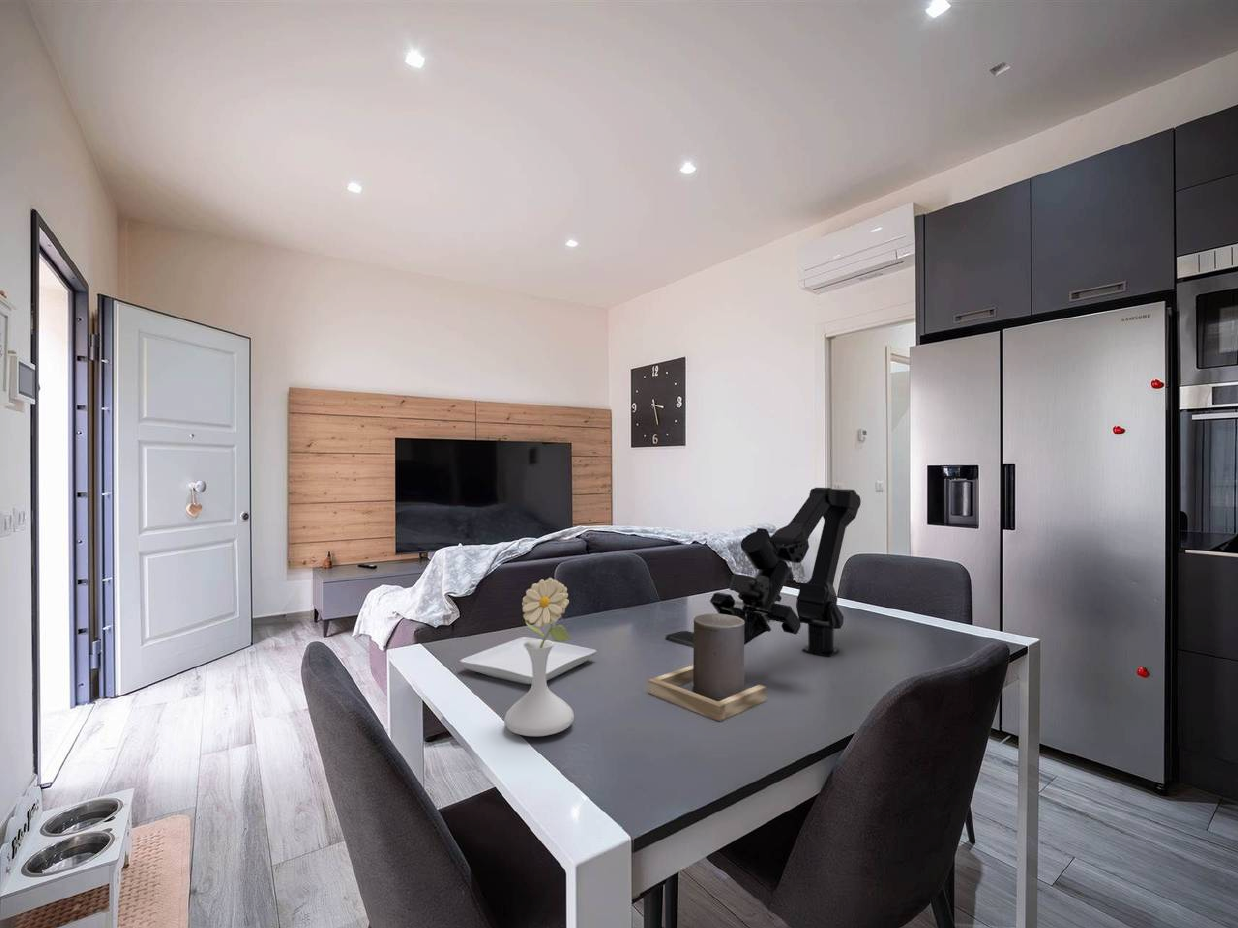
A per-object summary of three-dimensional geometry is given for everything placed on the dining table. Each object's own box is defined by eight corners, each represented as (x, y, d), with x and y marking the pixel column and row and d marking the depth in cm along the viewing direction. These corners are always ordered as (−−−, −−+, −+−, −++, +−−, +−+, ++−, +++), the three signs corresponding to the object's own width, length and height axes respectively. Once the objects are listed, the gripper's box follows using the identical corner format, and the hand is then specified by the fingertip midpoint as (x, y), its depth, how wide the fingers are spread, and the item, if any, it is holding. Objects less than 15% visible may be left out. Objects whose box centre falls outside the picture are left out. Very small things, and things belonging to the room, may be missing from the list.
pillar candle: (682, 690, 114) (682, 612, 114) (714, 678, 121) (715, 604, 120) (723, 706, 107) (723, 622, 107) (755, 692, 113) (755, 613, 113)
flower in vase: (490, 727, 98) (490, 575, 98) (545, 708, 106) (545, 567, 106) (538, 755, 89) (538, 586, 89) (595, 731, 97) (594, 576, 97)
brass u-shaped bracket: (695, 676, 122) (695, 663, 122) (766, 700, 109) (766, 686, 109) (648, 692, 113) (648, 679, 113) (719, 721, 100) (719, 706, 100)
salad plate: (523, 648, 142) (523, 634, 142) (598, 663, 131) (598, 648, 131) (456, 675, 124) (456, 659, 124) (537, 695, 113) (537, 677, 113)
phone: (684, 630, 154) (731, 642, 143) (684, 634, 154) (731, 647, 143) (663, 636, 148) (710, 649, 137) (663, 640, 148) (710, 654, 137)
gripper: (715, 554, 128) (680, 614, 120) (792, 564, 114) (758, 633, 106) (738, 586, 133) (705, 645, 125) (814, 600, 119) (783, 668, 111)
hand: (735, 647), depth 117 cm, fingers closed
